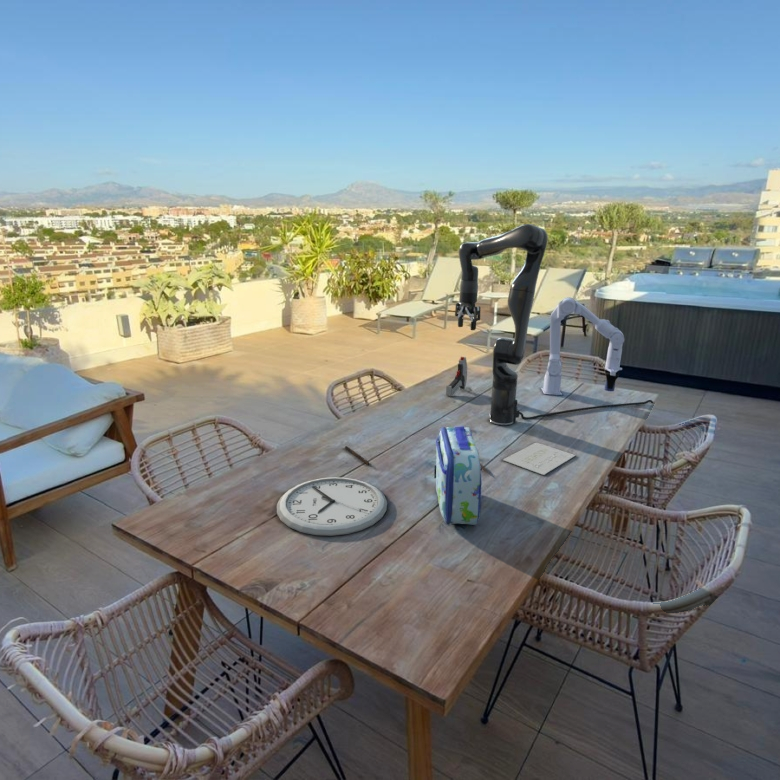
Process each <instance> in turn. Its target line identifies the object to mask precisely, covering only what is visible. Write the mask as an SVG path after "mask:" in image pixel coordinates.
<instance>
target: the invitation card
mask: <svg viewBox="0 0 780 780" xmlns="http://www.w3.org/2000/svg"><path fill="white" fill-rule="evenodd" d="M576 456H577V455H576V454H573V453H570V452H567V451H565V450H561V449H558V448H555V447H552V446H549V445H546V444H543V443H539V442H534V443H532V444H529V445H528V446H526V447H524V448H522V449H520V450H518V451H516V452H514V453H512V454H510V455H509V456H507V457H505V458H503V459H502V461H503V462H506V463H509V464H511V465H514V466H518V467H520V468H523V469H525V470H528V471H531V472H534V473H536V474H539V475H541V476H545V475H547V474H548V473H550V472H552V471H554V469H556V468H558V467H559V466H561V465H563V464H564V463H566V462H568V461H570V460H571V459H572V458H574V457H576Z"/></svg>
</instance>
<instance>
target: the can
mask: <svg viewBox="0 0 780 780" xmlns="http://www.w3.org/2000/svg"><path fill="white" fill-rule="evenodd" d="M615 387H616V382H615V383H614V386H613V388H612V389H608V388H607V380H606V379H605V382H604V389H603V390H604V391H606V392H615Z"/></svg>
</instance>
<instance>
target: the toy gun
mask: <svg viewBox="0 0 780 780" xmlns="http://www.w3.org/2000/svg"><path fill="white" fill-rule="evenodd" d="M467 379H468V362H467V357H466V356H460V358H459V360H458V363H457V370H456V375H455V377H454V379H453V380H452V381H451V382H450V383H449V384H448V385H446V388H445V395H446V396H447V397H452V396H454V395H455V394H456V393H457V391H459V389H460V390H463V391H465V390H466V386H467Z"/></svg>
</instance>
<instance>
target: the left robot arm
mask: <svg viewBox="0 0 780 780" xmlns="http://www.w3.org/2000/svg"><path fill="white" fill-rule="evenodd" d="M548 241H549V240H548V233H547V231H546V230H545V229H544V228H541V227H538V226H536V225H535V224H531V223H525V224H521V225H520V226H517V227H515V228H513V229H511V230H509V231H507V232H505V233H503V234H500V235H497V236H496V235H495V236H493V237H487V238H484V239H481V240H480V241H478V242H463V243H462V244H461V245H460V247H459V248H458V258H459V265H460V270H461V274H460V275H461V277H460V286H459V299H458V300H459V302H456V303H455V310H454V317H457V327H458V328H463V326H464V317H465V316H468V318H469V319H470V331H476V329H477V322H480V321H481V306H477V305H476V303H477V302H478V294H479V293H478V292H479V267H478V266H476V265H473V262H472V261H478V260H482V259H485V258H488V257H489V258H490V257H494V256H498V255H500V254H502V253H503V252H504V251H506V250H508V249H521V250H522V251H525V252H526V256H525V261H524V263H523V267H522V268H521V270H520V271H519V272H518V274H517V275H516V276H515V277H514V279H513V281H512V282H511V284H510V288H509V291H508V297H507V306H508V311H509V313H510V316H511V319H512V321H513V325H514V338H505V337H499V338H498V339H496V340H495V342H494V345H493V349H492V388H491V399H490V410H489V411H490V412H489V415H488V416H489V422H490V423H491V424H494V425H497V426H511V425H513V424H516V423H517V419H518V418H520V417H521V419H522V420H533V419H538V418H544V417H549V416H556V415H561V414H567V413H574V412H581V411H586V410H595V409H603V408H614V407H615V408H616V407H624V406H625V407H627V406H639V405H645V404H649V403H651V404H654V401H653V400H652V399H647V400H645V401H640V402H625V403H615V404H604V405H595V406H594V405H593V406H588V407H580V408H573V409H567V410H562V411H561V410H559V411H555V412H549V413H544V414H537V415H532V416H529V417H527V416H524V413H523V412H522V411H520V410H519V409H518V399H517V388H518V377H519V376H518V373H517V372H516V371H514V370H513V369H512V368H510V367H509V365H515V366H518V365H520V364H521V363H522V361H523V359H524V357H525V352H526V345H527V339H528V337H527V336H528V329H529V322H530V318H531V317H530V316H531V312H532V307H533V303H534V298H535V294H536V289H537V283H538V278H539V273H540V269H541V265H542V263H543V259H544V256H545V252H546V248H547V246H548ZM508 364H509V365H508Z"/></svg>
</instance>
